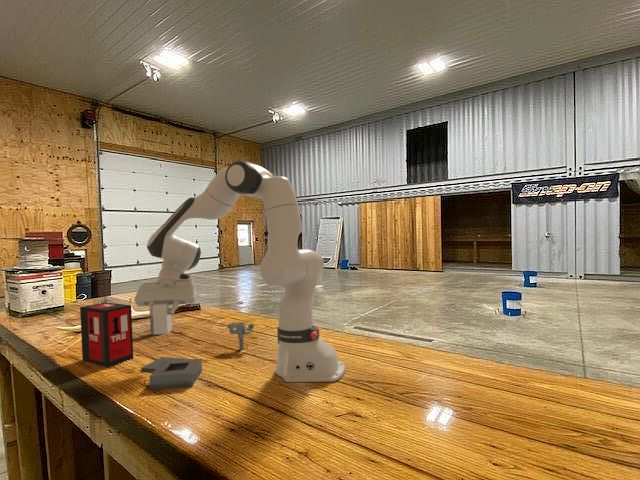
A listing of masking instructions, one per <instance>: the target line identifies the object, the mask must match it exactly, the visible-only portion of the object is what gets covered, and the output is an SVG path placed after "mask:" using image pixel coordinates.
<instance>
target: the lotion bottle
mask: <svg viewBox="0 0 640 480" xmlns="http://www.w3.org/2000/svg"><path fill="white" fill-rule="evenodd" d="M150 311H151V309H150V308H149V312H150ZM149 324H150V325H149V326H150V335H151V336H160V335H161V334H154V328H153V316H151V315H150V314H149Z"/></svg>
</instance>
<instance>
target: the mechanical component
mask: <svg viewBox="0 0 640 480" xmlns="http://www.w3.org/2000/svg"><path fill="white" fill-rule="evenodd" d="M254 328H255V326H254V324H253V323H249V324H248V325H247V326H246V324H245V322H230V323H228V324H227V329H228V330H229V331H228V332H229V334H231V335H237V339H238V342H239V345H238V347H239V350H240V351H242V350H243V349H245V348H244V338H245V335H250V334H251V333H252V332H253V330H254Z"/></svg>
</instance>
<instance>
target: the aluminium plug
mask: <svg viewBox="0 0 640 480" xmlns="http://www.w3.org/2000/svg"><path fill="white" fill-rule="evenodd" d="M169 308H172V305H171V302H157V303H156V304H154V305H153V328H154V334H160V335H167V334H169V333H170V332H171V331H172V330H173V325H172V324H173V322H172V321H173V319H172V315H169V313H168V310H169Z"/></svg>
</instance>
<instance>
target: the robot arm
mask: <svg viewBox="0 0 640 480" xmlns="http://www.w3.org/2000/svg"><path fill="white" fill-rule="evenodd" d="M242 195H243V196H247V197H248V198H251V199H257V200H258V199H259V200H262V203H263V206H264V212H265V217H266V218H265V219H266V224H267V228H268V229H267V230H268V247H267V250H266V253H265V255H264V257H263V258H262V260H261V262H260V265H259V275H260V276H261V279H262V281H263V282H264V283H265V284H267V285H268V286H271V287H283V288H284V287H286V288H285V291H284V293H283V295H282V297H281V298H280V300H279V302H278V304H277V305H278V306H277V307H278V308H277V310H278V316H277V317H278V327H277V334H276V335H277V344H278V351H277V352H278V354H277V361H276V367H275V369H274V370H275V371H274V372H275V374H276V375H278V376H279V377H280V378H282V379H283V381H285V382H286V383H307V382H308V383H310V382H312V383H313V382H314V383H316V382H318V383H319V382H320V383H321V382H324V383H325V382H336V381H338V380H340V379H341V378H342V377H343V376H344V374H345V371H346V364H345V363H344V362H343V361H342V360H338V353H337V351H336V349H335V347H333V346H332V345H331V344H329V343H328V342H327V341H325V340H324V339H322V338H321V337H320V326H318V327H317V326H315V325H314V319H313V317H314V315H313V313H314V312H313V310H314V309H313V304H314V303H313V302H314V301H313V300H314V297H315V296H314V295H315V290H316V287H317V283H318V279H319V277H320V276H321V274H322V273H323V270H324V268H325V262H324V258H323V256H322V255H321V254H320V253H319V252H318V251H315V250H311V249H308V248H302V249H300V248H299V247H298V243H299V242H298V241H299V235H300V234H301V233H302V232H303V229H304V228H303V227H304V226H303V221H302V217H301V213H300V212H301V211H300V209H299V204H298V200H297V197H296V196H297V195H296V193H295V191H294V188H293V186H292V183H291V181H290V180H289V179H288V178H287V177H285V176H282V175H276V174H274V173H273V171H271V170H268V169H266V168H264V167H263V166H261V165H259V164H255V163H252V162H249V161H246V160H236V161H234V162H232V163H230V165H228V167H224V168H222V169H220V171H218V172H217V173H216V174H215V176H214V177H213V178H212V179H211V181H210V182H209V184H208V185H207V186H206V188H205V190H204V191H203V192H202V193H201V194H199V195H197V196H195V197H188V198H187V199H186V200H185V201H183V202H182V203H181V205H179V207H178V208H176V210H174V212H173V213H172V214H171V215H170V216H169V218H168V219H166V221H165V222H164V223H163V224H162V225H161V226H159V228H158V229H157V230H156V231H154V233H152V234H151V236H150V237H149V238H148V241H147V244H146V248H147V251H148V252H149V254H150V255H151V257H154V258H158V259H162V260H163V261H162V263H161V269H160V270H159V273H158V277H157V280H156V282H155V281H154V282H144V284H141V285H139V287H138V289H137V290H138V291H137V292H136V295H135V297H134V303H135V304H136V306H137V307H149V316H150V315H151V316H153V305H154V304H156V303H157V302H171V308H169V310H168V313H169V315H171V316H172V315H174V314H175V311H176V310H177V309H178V308H179V307H180V305H193V304H194V303H196V301H197V290H196V282H195V279H194V277H193V275H191V274H187V273H185V272H186V271H187V272H188V271H189V270H192V269H194V268H195V267H196V266H197V265H198V263H199V262H200V258H201V255H202V251H201V247H200V246H199V244H197V243H195V242H193V241H191V240H189V239H186V238H183V237H181V236H178V235H176V234H175V232H176V231H177V229H179V228H180V227H181V226H182V224H183V223H184V222H186V221H187V220H190V219H203V220H219V219H222V218H225V217H226V216H227V215H228V214H229V212H230V211H231V210H232V209H233V207H234V206H235V205H236V202H237V201H238V199H239V198H240V197H241V196H242ZM150 309H151V311H150Z"/></svg>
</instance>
